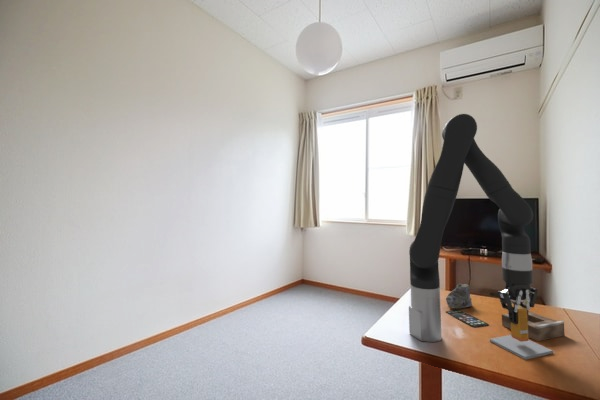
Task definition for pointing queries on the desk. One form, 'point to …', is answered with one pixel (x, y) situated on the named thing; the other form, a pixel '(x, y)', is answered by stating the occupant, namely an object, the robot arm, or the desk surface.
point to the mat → (521, 347)
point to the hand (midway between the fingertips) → (518, 321)
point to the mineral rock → (459, 297)
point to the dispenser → (539, 326)
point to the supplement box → (520, 325)
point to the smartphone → (467, 318)
